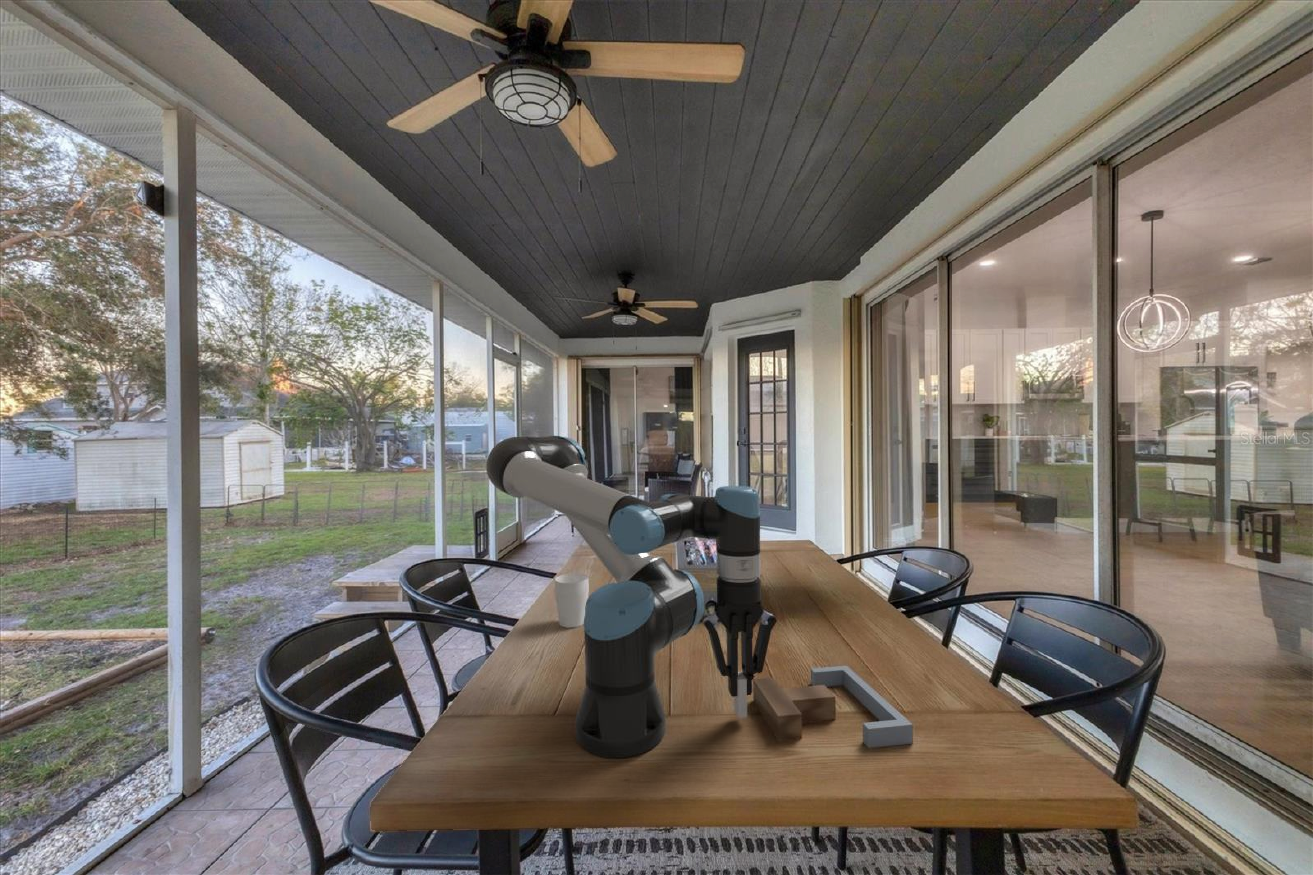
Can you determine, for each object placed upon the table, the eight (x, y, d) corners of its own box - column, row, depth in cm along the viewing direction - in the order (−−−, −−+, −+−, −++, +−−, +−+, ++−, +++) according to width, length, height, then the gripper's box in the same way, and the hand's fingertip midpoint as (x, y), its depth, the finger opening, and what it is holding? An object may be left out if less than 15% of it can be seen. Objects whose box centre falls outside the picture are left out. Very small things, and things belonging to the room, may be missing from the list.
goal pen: (868, 748, 76) (868, 729, 76) (810, 683, 96) (810, 668, 96) (913, 743, 77) (912, 724, 77) (846, 680, 97) (846, 665, 97)
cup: (553, 619, 131) (552, 575, 131) (586, 615, 134) (585, 572, 134) (556, 632, 122) (556, 584, 122) (592, 627, 125) (591, 581, 125)
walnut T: (778, 740, 78) (778, 716, 78) (753, 700, 90) (753, 679, 90) (847, 733, 80) (847, 709, 80) (814, 695, 91) (814, 674, 91)
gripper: (706, 585, 79) (708, 729, 79) (783, 580, 80) (785, 722, 80) (696, 572, 86) (698, 704, 86) (766, 568, 88) (768, 698, 88)
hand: (740, 713), depth 83 cm, fingers closed
